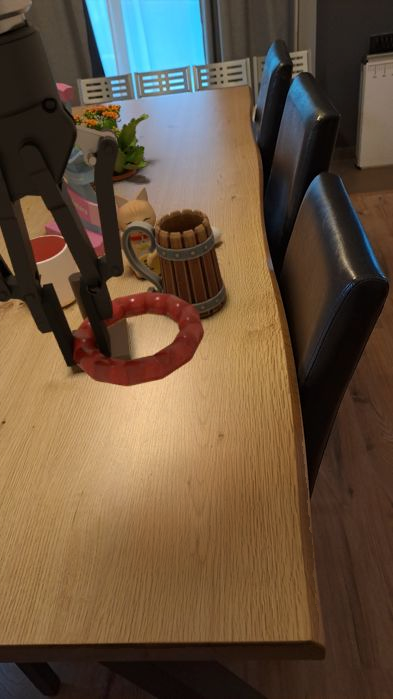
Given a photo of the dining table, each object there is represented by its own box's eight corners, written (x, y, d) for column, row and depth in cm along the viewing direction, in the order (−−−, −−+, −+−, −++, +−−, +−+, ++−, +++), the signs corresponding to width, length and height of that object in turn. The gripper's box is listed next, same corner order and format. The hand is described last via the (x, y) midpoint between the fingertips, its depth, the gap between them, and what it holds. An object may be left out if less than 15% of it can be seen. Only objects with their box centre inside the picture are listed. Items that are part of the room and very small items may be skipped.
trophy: (45, 233, 113) (-9, 90, 93) (102, 203, 121) (64, 66, 101) (97, 257, 101) (48, 98, 81) (157, 222, 109) (125, 70, 89)
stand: (128, 325, 82) (107, 254, 73) (131, 360, 75) (108, 286, 66) (74, 337, 82) (46, 267, 73) (73, 373, 75) (42, 301, 66)
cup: (53, 278, 97) (35, 232, 91) (94, 285, 93) (78, 237, 86) (19, 308, 91) (-3, 261, 84) (62, 317, 87) (42, 268, 80)
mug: (231, 284, 87) (222, 203, 77) (220, 322, 79) (208, 238, 69) (147, 283, 91) (128, 207, 81) (129, 319, 83) (105, 239, 73)
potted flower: (180, 171, 129) (168, 99, 118) (100, 204, 121) (78, 129, 109) (134, 151, 146) (119, 86, 135) (60, 179, 137) (38, 112, 126)
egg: (192, 243, 100) (189, 226, 97) (221, 237, 100) (219, 220, 97) (195, 252, 97) (192, 235, 94) (225, 246, 97) (223, 229, 94)
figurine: (128, 288, 90) (107, 211, 81) (120, 263, 98) (100, 190, 88) (173, 275, 91) (157, 199, 82) (162, 251, 99) (146, 178, 89)
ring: (192, 296, 47) (189, 278, 46) (215, 373, 39) (212, 354, 38) (77, 320, 47) (71, 303, 45) (76, 403, 38) (68, 385, 37)
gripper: (103, -3, 30) (171, 307, 45) (-149, 46, 30) (5, 344, 45) (108, 11, 24) (183, 360, 40) (-205, 72, 24) (-6, 403, 39)
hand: (89, 351), depth 42 cm, fingers closed on ring, 2 cm apart
